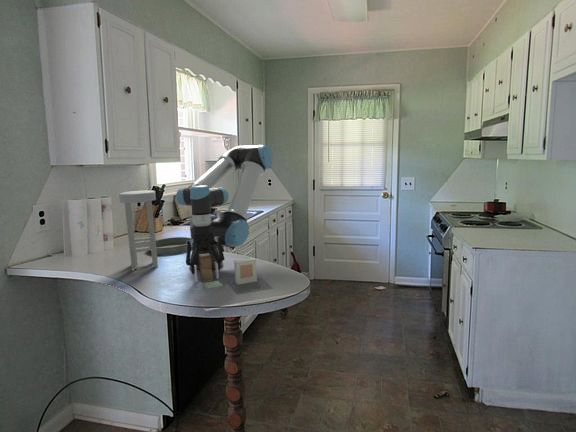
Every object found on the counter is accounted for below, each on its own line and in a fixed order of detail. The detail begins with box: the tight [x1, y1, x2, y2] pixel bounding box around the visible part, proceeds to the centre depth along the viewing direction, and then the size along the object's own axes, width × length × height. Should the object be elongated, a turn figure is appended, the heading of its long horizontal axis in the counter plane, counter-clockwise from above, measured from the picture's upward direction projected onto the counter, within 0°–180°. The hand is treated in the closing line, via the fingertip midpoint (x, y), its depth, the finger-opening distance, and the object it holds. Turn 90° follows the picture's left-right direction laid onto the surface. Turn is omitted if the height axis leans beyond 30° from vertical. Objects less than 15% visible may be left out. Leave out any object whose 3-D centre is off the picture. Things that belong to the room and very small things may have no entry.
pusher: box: [199, 253, 214, 283], centre depth 168 cm, size 4×4×11 cm
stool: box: [119, 189, 159, 270], centre depth 193 cm, size 16×16×35 cm
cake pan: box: [148, 236, 192, 255], centre depth 226 cm, size 25×25×4 cm
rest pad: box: [203, 280, 223, 290], centre depth 162 cm, size 6×6×1 cm
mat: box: [227, 276, 273, 295], centre depth 159 cm, size 15×14×1 cm
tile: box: [233, 257, 258, 285], centre depth 163 cm, size 3×8×9 cm, turn 112°
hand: (206, 279), depth 169 cm, fingers open, 8 cm apart
